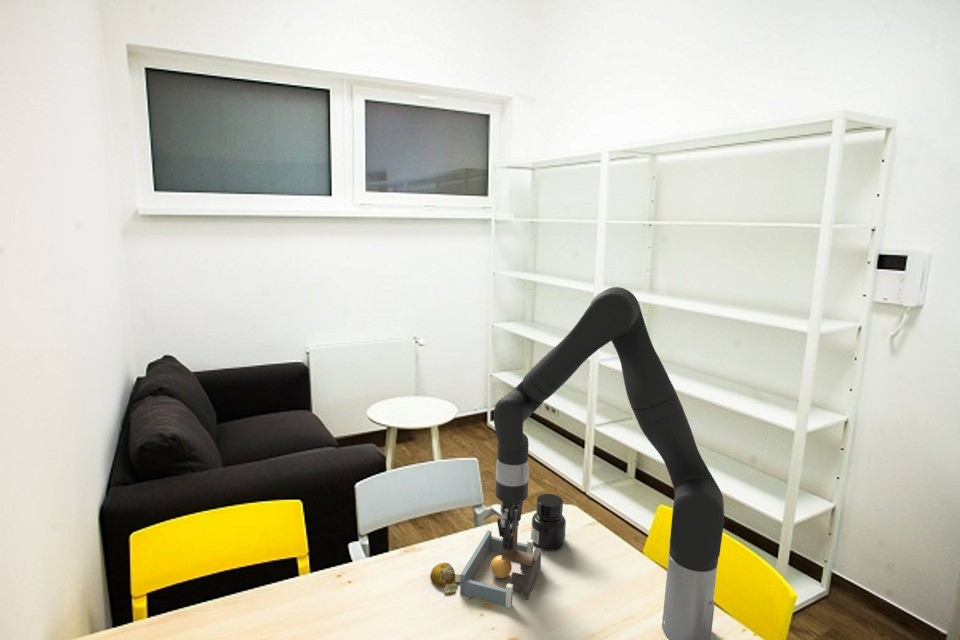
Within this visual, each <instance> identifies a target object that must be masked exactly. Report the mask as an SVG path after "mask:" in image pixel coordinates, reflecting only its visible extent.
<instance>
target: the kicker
mask: <svg viewBox="0 0 960 640" xmlns="http://www.w3.org/2000/svg"><path fill="white" fill-rule="evenodd" d="M510 522H512V521H510ZM510 529H511V528H510ZM518 530H519V526H518V520H517V521H516V526H515V527H514V535H513V549H512V550H511V551H508V550H504V549H503V542H502V553H501V555H502V560H506V561H511V563H514V564H519V565H520V570H521V571H525V572H524V573H518V572H515V571H514V572H513V571H511V577H510V578H511V580H510V584H513V592H515V593H518V594H519V593H520V594H521V598H522V599H525V600H528V599H529V597H530V596H531V592H532V590H533V587H534V585H535V582H536V580H537V577H538V575H539V573H540V570H541V567H542V565H541V564H542V549H540V548H538V547H535V548H534V550H533V554H531V553H527V552H522V551H518V550H517V542H518V536H519V535H518V534H519V533H518Z"/></svg>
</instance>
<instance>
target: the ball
mask: <svg viewBox="0 0 960 640" xmlns="http://www.w3.org/2000/svg"><path fill="white" fill-rule="evenodd" d="M512 567H513V565H512V562H511V561H506V560H502V554H500V555H496V556H495V557H493V559H492V560H491V563H490V570H491V572H492V574H493V576H494V577H496V578H498V579H505V578H507V577H509V575H510V574H511V573H512V569H513V568H512Z"/></svg>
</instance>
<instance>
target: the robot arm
mask: <svg viewBox="0 0 960 640" xmlns="http://www.w3.org/2000/svg"><path fill="white" fill-rule="evenodd" d="M610 342H611V343H612V344H613V347H614V349H615V351H616V354H617V356H618V358H619V363H620V365H621V371H622V376H623V383H624V387H625V392H626V395H627V398H628V399H627V400H628V402H629V405H630V408H631V410H632V412H633V415H634V416H635V419H636V421H637V423H638V426H639V427H640V430H641V431H642V433H643V434H644V436H645V438H646V439H647V441H648V442H650V444H651V446H653V448H654V449H655V450H656V452H657V453H658V454H659V456H660V457H661V459H662V460H663V462H664V465H665V467H666V469H667V472H668V475H669V478H670V480H671V484H672V486H673V492H674V498H673V499H674V500H673V506H672V514H671V515H672V516H671V523H670V524H671V526H670V536H669V537H670V538H669V547H668V548H669V549H668V560H667V571H666V580H665V589H664V590H665V592H664V602H663V612H662V613H663V614H662V621H661V622H662V624H661V628H662V630H663V631H662V632H663V633H664V634H665V636H666V637H667V638H668V639H669V640H711V639H712V630H713V622H714V614H715V613H714V612H715V598H714V597H715V590H716V583H717V582H716V581H717V573H718V563H719V558H720V555H721V547H722V541H723V531H724V524H725V508H724V506H725V505H724V504H725V503H724V496H723V493H722V491H721V489H720V487H719V485H718V484H717V481H716V480H715V477H713V475H712V473H711V472H710V470H709V467H708V466H707V464H706V462H705V461H704V459H703V457H702V455H701V454H700V453H701V452H700V451H699V450H698V447H697V444H696V441H695V438H694V437H695V436H694V434H693V431H692V428H691V425H690V424H689V420H688V417H687V415H686V413H685V410H684V407H683V405H682V403H681V400H680V399H679V396H678V394H677V392H676V389H675V387H674V385H673V383H672V381H671V378H670V376H669V375H668V373H667V371H666V368H665V366H664V365H663V363H662V361H661V359H660V357H659V355H658V354H657V351H656V349H655V347H654V345H653V343H652V340H651V338H650V335H649V331H648V328H647V325H646V323H645V319H644V317H643V312H642V310H641V306H640V302H639V301H638V299H637V297H636V296H635V295H634V293H632V292H631V291H630V290H628V289H627V288H624V287H620V286H614V287H613V286H612V287H609V288H606V289H605V290H603V291H602V292H600V293H598V294H597V295H595V297H593V299H592V300H591V302H590V304H589V306H588V307H587V309H586V310H585V311H584V313H583V314H582V316H581V317H580V319H579V320H578V322H576V324H575V325H574V326H573V328H572V329H571V330H570V331H569V333H567V334H566V336H565V337H564V338H562V340H561V341H560V342H558V344H557V345H555V347H552V349H551V350H550V351H549V352H547V353H546V354H545V355H544V356H543V357H542V358H541V359H540V360H539V361H538V362H537V363H536V364H535V365H534V366H533V367H531V369H530V370H529V371H528V372H527V374H525V375H524V377H523V379H522V380H521V382H520V383H519V384H517V385H516V386H515V387H514V388H513V389H512V390H511V391H509V392H508V393H507V394H505V395H504V396H503V397H501V398H500V399H499V400H498V401H497V402H496V404H495V406H494V409H493V424H494V430H495V434H496V438H497V439H496V440H497V450H496V451H497V453H496V454H497V455H496V456H497V459H496V465H495V485H494V486H495V488H494V491H495V492H494V495H495V497H496V498H497V499H498V500H499V501H500V502H501V503H502V504H501V505H500V517H498V518H497V520H496V523H497V527H498V528H497V529H498V534H499V538H500V537H501V538H502V539H503V549H504V550H508V551H511V550H512V549H513V535H514V527H515V526H516V521H517V520H518V527H519V526H520V525H519V524H520V521H521V519H522V511H523V504H524V501H526V500H527V498H528V495H529V476H530V475H529V474H530V473H529V471H530V468H529V467H530V466H529V438H528V437H527V435H526V434H525V433H524V422H525V421H526V420H527V419H528V418H530V417H531V415H533V414H534V413H535V412H536V411H537V409H538V408H539V407H540V406H541V405H542V404H543V403H544V402H545V401H546V400H547V399H549V398H550V397H551V396H553V395H554V394H555V393H556V392H557V391H558V390H559V389H560V388H561V387H562V386H563V385H564V384H565V383H566V382H567V381H568V380H570V378H571V377H572V376H573V375H574V374H575V372H576V371H577V370H578V369H579V368H580V366H582V365H583V363H585V362H586V361H587V359H589V358H590V357H591V356H592V355H594V354H595V353H596V352H597V351H598V350H600V349H601V348H603V347H604V346H605V345H607V344H608V343H610ZM510 521H512V522H510ZM510 528H511V529H510Z"/></svg>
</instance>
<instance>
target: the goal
mask: <svg viewBox="0 0 960 640" xmlns="http://www.w3.org/2000/svg"><path fill="white" fill-rule="evenodd" d="M502 542H503V538H502V537H501V538H500V537H497V536H493V535H492V530H490V529H489V530H486V532H485V535H484V536H483V538H482V539H481V540H480V542H479V544H478V545H477V547H476V548H475V550H474V552H473V553H472V556H471V557H470V559H469V560H468V562H467V563H466V565H465V567H464V568H463V570H462V571H461V573H460V574H459V575H460V582H459V583H460V584H459V585H460V587H459V594H460V595H461V596H465V597H469V598H473V599H475V600H476V599H477V600H480V601H484V602H488V603H491V604H496V605H498V606H503V607H504V608H505V607H506V608H508V609H511V608H512V606H513V592H514V591H513V584H511V583H508V582H507V584H506V586H505V588H503V587H499V586H496V585H492V584H487V583H484V582H481V581H477V580H476V581H475V580H474V579H475V577H476V575H477V574H478V572H479V570H480V568H481V567H482V565H483V563H484V562H485V560H486V558H487V556H488V554H489V553H490V552H494V553H497V554H502ZM517 550H518V551H522V552H527V553H531V554H533V553H534V544H533V540H531V538H530V539H529V538H528V540H527V543H523V542H519V541H517Z"/></svg>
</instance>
